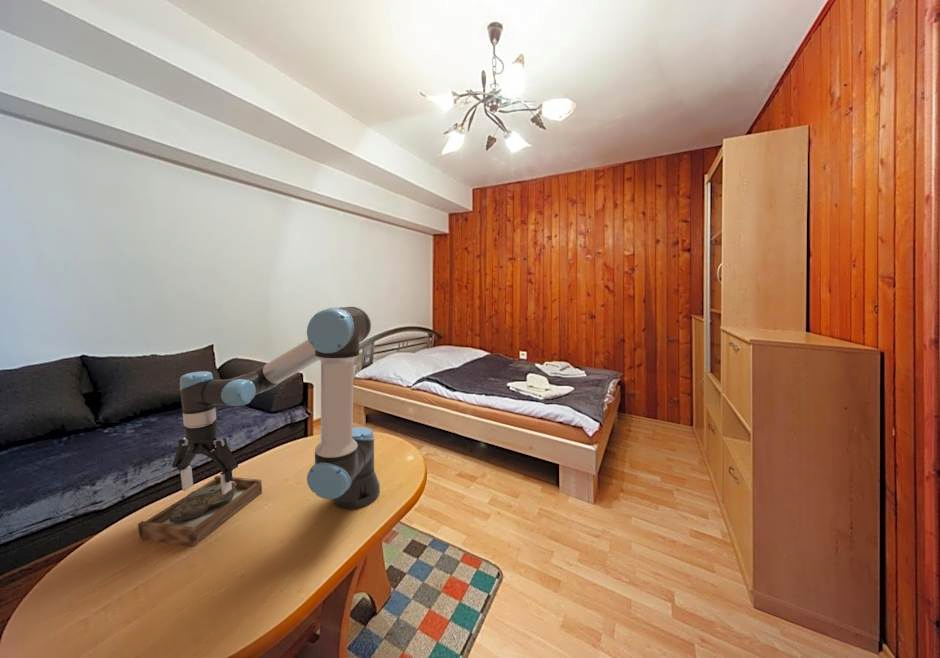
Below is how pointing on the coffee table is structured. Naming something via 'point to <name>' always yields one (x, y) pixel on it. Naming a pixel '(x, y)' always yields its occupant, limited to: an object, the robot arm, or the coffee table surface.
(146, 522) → the wooden tray
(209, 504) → the rock
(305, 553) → the coffee table surface
